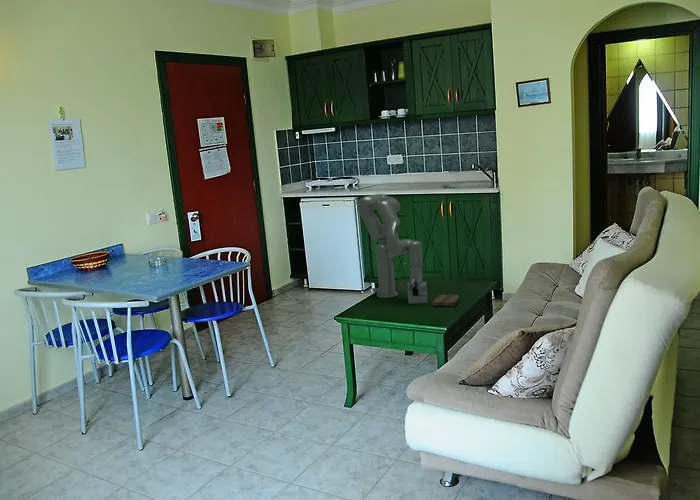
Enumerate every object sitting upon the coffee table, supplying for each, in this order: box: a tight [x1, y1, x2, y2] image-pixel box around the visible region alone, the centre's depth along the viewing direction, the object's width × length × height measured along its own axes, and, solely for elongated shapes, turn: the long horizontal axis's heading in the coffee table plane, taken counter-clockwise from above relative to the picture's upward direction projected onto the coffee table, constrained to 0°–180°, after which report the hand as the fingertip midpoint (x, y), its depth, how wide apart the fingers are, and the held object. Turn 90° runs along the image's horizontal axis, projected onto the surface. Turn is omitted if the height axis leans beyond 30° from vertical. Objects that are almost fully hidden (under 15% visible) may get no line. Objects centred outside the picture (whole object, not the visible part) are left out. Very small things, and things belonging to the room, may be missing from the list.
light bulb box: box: [407, 281, 428, 305], centre depth 338 cm, size 11×7×11 cm, turn 84°
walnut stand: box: [431, 294, 460, 308], centre depth 333 cm, size 12×15×2 cm
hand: (417, 293), depth 338 cm, fingers open, 9 cm apart
